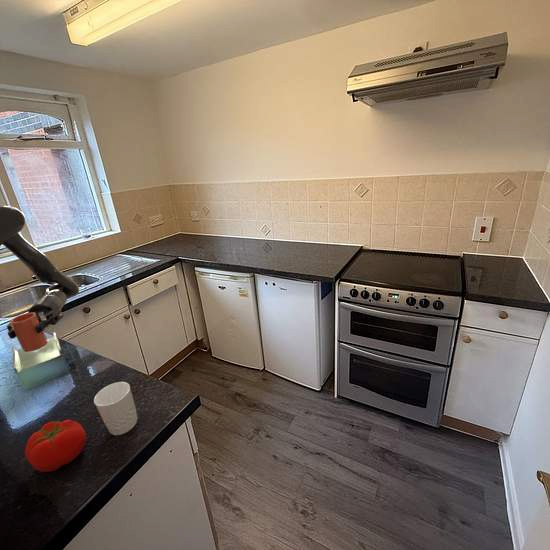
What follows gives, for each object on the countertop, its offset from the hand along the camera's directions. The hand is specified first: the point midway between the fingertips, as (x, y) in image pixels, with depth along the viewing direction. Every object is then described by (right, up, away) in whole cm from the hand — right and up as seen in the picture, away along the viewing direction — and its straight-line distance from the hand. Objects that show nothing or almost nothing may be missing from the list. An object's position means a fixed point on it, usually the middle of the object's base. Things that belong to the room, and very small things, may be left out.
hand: (24, 333), depth 88 cm
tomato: (+26, -25, -20) cm, 41 cm away
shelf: (-3, -15, +12) cm, 19 cm away
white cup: (+36, -21, -12) cm, 43 cm away
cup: (0, -5, +4) cm, 6 cm away
